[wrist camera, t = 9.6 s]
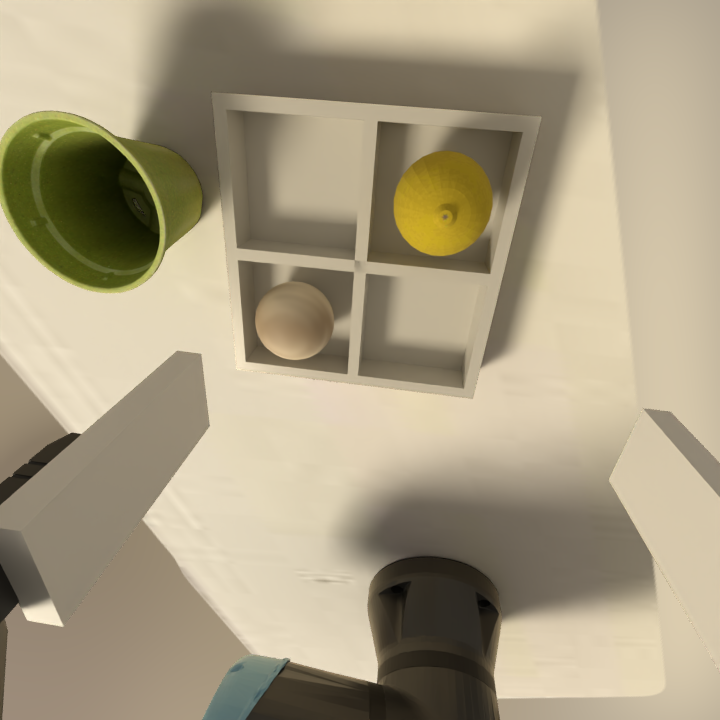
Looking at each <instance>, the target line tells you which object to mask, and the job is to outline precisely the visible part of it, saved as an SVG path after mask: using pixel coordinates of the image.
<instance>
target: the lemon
mask: <svg viewBox="0 0 720 720" xmlns="http://www.w3.org/2000/svg"><path fill="white" fill-rule="evenodd" d="M492 207H493V192H492V189H491V185H490V181H489V179H488V177H487V175H486V174H485V172H484V170H483V168H482V167H481V166H480V165H479V164H478V163H477V162H475V161H474V160H473V159H472V158H470V157H468V156H466V155H464V154H462V153H458V152H453V151H439V152H433V153H431V154H428V155H426V156H423V157H422V158H420V159H419V160H417V161H416V162H415V163H413V164H412V165H411V166H410V167H409V168H408V169H407V171H406V172H405V173H404V174H403V176H402V178H401V180H400V182H399V184H398V186H397V188H396V192H395V196H394V217H395V221H396V225H397V227H398V229H399V231H400V233H401V234H402V236H403V238H404V239H405V240H406V241H407V242H408V243H409V244H410V245H411V246H412V247H414V248H415V249H417V250H419V251H420V252H423V253H426V254H429V255H433V256H447V255H452V254H456V253H458V252H460V251H462V250H465V249H466V248H468V247H469V246H470V245H472V244H473V243H474V242H475V241H476V240H477V239H478V238H479V237H480V235H481V234H482V233H483V232H484V230H485V228H486V226H487V224H488V222H489V220H490V216H491V211H492Z"/></svg>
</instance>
